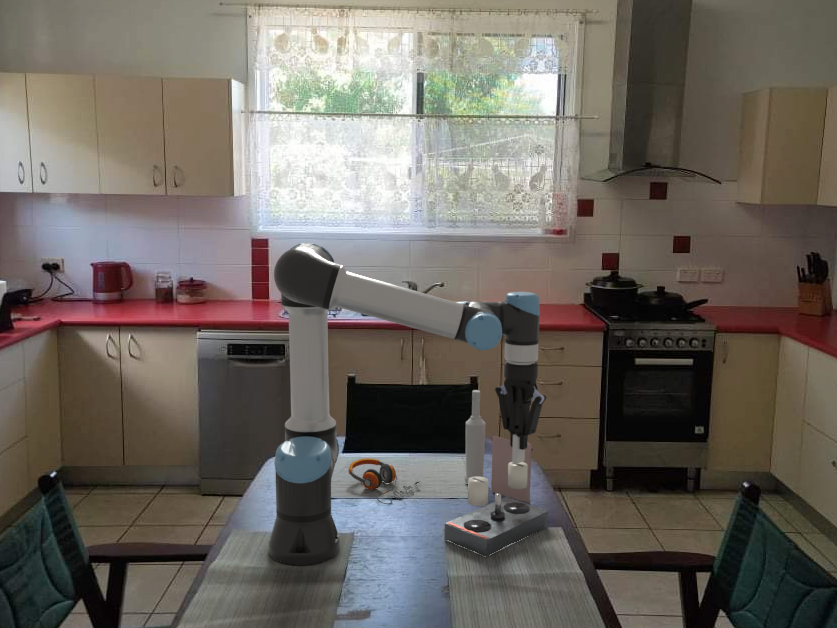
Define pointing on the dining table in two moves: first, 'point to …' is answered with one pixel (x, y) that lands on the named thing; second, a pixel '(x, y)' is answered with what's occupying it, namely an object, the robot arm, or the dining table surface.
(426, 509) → the dining table surface
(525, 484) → the knob far
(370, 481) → the headphones
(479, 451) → the bottle
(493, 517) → the potentiometer stem
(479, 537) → the mount
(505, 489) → the greeting card
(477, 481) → the knob near
